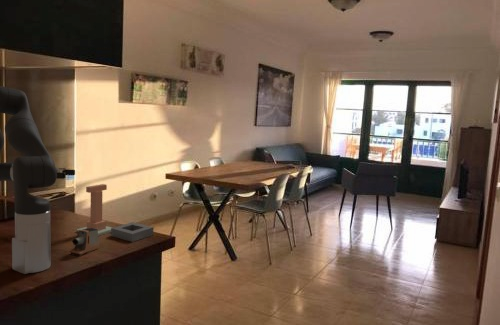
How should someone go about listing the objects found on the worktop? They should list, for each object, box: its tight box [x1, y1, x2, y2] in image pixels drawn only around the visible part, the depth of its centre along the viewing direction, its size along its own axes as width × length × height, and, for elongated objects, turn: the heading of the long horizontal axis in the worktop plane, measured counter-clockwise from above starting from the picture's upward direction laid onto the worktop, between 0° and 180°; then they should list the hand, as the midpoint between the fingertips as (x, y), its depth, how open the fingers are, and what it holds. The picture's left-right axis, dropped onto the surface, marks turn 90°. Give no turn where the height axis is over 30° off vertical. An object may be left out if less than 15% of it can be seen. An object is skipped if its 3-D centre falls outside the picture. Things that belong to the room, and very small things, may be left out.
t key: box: [85, 183, 108, 231], centre depth 158 cm, size 8×5×17 cm, turn 152°
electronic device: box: [68, 228, 100, 257], centre depth 138 cm, size 4×10×8 cm, turn 162°
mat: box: [76, 225, 113, 237], centre depth 160 cm, size 10×10×1 cm
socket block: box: [110, 221, 154, 243], centre depth 157 cm, size 11×11×3 cm
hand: (70, 174), depth 157 cm, fingers open, 8 cm apart
